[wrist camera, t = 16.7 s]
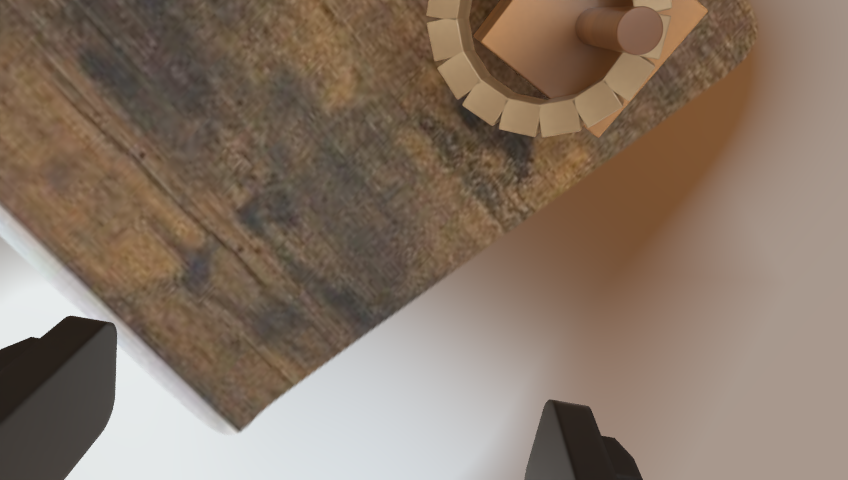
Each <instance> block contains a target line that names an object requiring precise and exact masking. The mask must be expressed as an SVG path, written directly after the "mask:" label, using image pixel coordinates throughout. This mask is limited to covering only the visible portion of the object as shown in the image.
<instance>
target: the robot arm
mask: <svg viewBox="0 0 848 480" xmlns="http://www.w3.org/2000/svg"><path fill="white" fill-rule="evenodd" d="M116 350H117V331H116V327H115V325H114V324H113V323H111V322H105V321H99V320H93V319H88V318H81V317H76V316H68V317H66V318H64V319H63V320H62V321H61V322H59V323H58V324H57V325H56V326H55V327H53V328H52V329H51V330H50V331H48V333H46V334H45V335H44V336H42V337H41V338H34V337H30V338H28V339H25V340H23V341H20V342H18V343H15V344H13V345H10V346H8V347H6V348H3V349H1V350H0V480H64V479H65V478H66V477H67V475H68V474H69V473H70V472H71V470H72V469H73V468H74V467H75V465H76V464H77V463H78V462H79V460H80V459H81V458H82V457H83V455H84V454H85V453H86V451H87V450H88V449H89V448H90V447H91V445H92V444H93V443H94V442H95V440H96V439H97V438H98V437H99V435H100V434H101V433H102V431H103V430H104V428H105V427H106V425H107V423H108V421H109V418H110V416H111V413H112V410H113V405H114V400H115V381H116ZM525 480H643V479H642V477H641V474H640V472H639V470H638V467H637V465H636V463H635V461H634V459H633V457H632V456H631V455H630V454H629V453H628V452H627V451H626V450H625V449H624V448H623V447H622V446H621V444H620V443H619V442H618V441H617V440H616V439H615V438H611V437H606V436H601V434H600V432H599V429H598V427H597V424H596V421H595V418H594V416H593V413H592V411H591V409H590V407H589V406H585V405H579V404H572V403H567V402H562V401H556V400H548V401H547V402H546V404H545V406H544V409H543V412H542V416H541V419H540V423H539V426H538V430H537V433H536V437H535V440H534V444H533V447H532V451H531V454H530V458H529V461H528V465H527V469H526V473H525Z"/></svg>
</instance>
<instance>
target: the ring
mask: <svg viewBox="0 0 848 480" xmlns="http://www.w3.org/2000/svg"><path fill="white" fill-rule="evenodd" d="M632 1H633V6H646V7H649V8H652V9H654V10H655V11H656V12H660V11H664V10H669V9H671V8H672V0H632ZM471 4H472V0H428V7H427V13H426V16H430V17H435V18H440V19H439V20H435V21H431V22H428V23H427V28H428V33H429V38H430V43H431V48H432V53H433V58H434V61H441V60H446V59H448V60H447V61H446V62H444V63H443V64H441V65H440V66H439V67H438V71H439V72H440V74H441V75H442V77H443V78H444V80H445V82H446V83H447V85H448V86H449V88H450V89H451V91H452V92H453V94H454V96H455V97H456V99H461V98H463V97H465V96H467V98H466V99H465V101H464V102H463V104H462V105H463V106H464V107H465V108H467V109H468V110H470V111H471V112H473V113H474V114H475V115H477V116H478V117H480V118H481V119H482V120H484V121H485V122H487V123H488V124H490V125H491V126H493V125H495V124H496V123H498V122H499V121H500V124H499V129H500V130H505V131H509V132H514V133H518V134H522V135H527V136H531V137H536V135H537V134H538V133H539V132H540V131H541V134H542V137H549V136H555V135H561V134H567V133H572V132H578V131H581V129H582V128H583V126H584V124H585V125H586V127H587V128H589V127H591V126H593V125H594V124H596V123H598V122H599V121H601V120H602V119H604V118H606V117H607V116H609V115H611V114H612V113H614V112H616V111H617V110H619V109H621V108H622V107H623V104H624V99H626V100H627V101H630V100H631V98H632V97H633V96H634V95H635V93H636V92H637V91H638V89H639V88H640V87H641V85H642V84H643V83H644V81H645V80H646V79H647V78H648V76H649V75H650V74H651V72H652V71H653V70H654V68H655V64H654V63H653V62H652V61H650V60H649V59H647V58H652V59H657V60H658V59H659V58H660V55H661V52H662V48H663V45H664V41H665V38H666V34H667V31H668V27H669V24H670V20H671V16H669V15H663V14H659V15H660V17H661V19H662V22H663V34H662V38H661V40H660V42H659V43H658V45H657V46H656V47H655V48H654V49H653V50H652V51H650V52H648V53H646V54H643V55H631V54H627V53H621V55H620V56H619V57H618V59H617V60H616V62H615V63H614V64H613V66H612V67H611V68H610V70H609V71H608V72H607V74H606V75H605V76H604V77H602V78H601V79H599V80H598V81H596V82H594V83H593V84H591V85H590V86H588V87H587V88H585V89H584V90H582V91H580V92H579V93H577V94H572V95H567V96H562V97H557V98H552V99H541V98H536V97H531V96H527V95H522V94H517V93H515V92H514V91H512V90H511V89H509V88H508V87H506V86H505V85H504V84H502V83H501V82H499V81H498V80H496V79H495V78H494V77H492V76H491V75H490V73H489V72H488V70H487V68H486V67H485V65H484V64H483V62H482V61H481V59H480V57H479V56H478V54H477V53H476V51H475V49H474V43H473V38H472V33H471V27H470V22H469V15H470V10H471ZM646 57H647V58H646ZM622 97H623V98H624V99H623V98H622Z"/></svg>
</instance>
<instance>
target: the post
mask: <svg viewBox="0 0 848 480" xmlns="http://www.w3.org/2000/svg"><path fill="white" fill-rule="evenodd" d="M707 12H708V10H707V9H706V8H705V7H704V6H703V5H702V4H701V3H699V2H698V1H697V0H672V8H671V9H669V10H664V11H660V12H656V11H655V10H654V9H652V8H649V7H646V6H633V1H632V0H500V1H499V2H498V4H497V5H496V6H495V7H494V9H493V10H492V11H491V13H490V14H489V15H488V17H487V18H486V19H485V21H484V22H483V23H482V25H481V26H480V27H479V29H478V30H477V31H476V33H475V34H474V35H473V37H474V38H475V39H476V40H478V41H479V42H480V43H481V44H483V45H484V46H485V47H486V48H488V49H489V50H490V51H491V52H492V53H494V54H495V55H496V56H497V57H499V58H500V59H501V60H502V61H503V62H505V63H506V64H507V65H508V66H510V67H511V68H512V69H513V70H514V71H516V72H517V73H518V74H519V75H521V76H522V77H523V78H524V79H525V80H527V81H528V82H529V83H530V84H532V85H533V86H534V87H535V88H537V89H538V90H539V91H540V92H541V93H543V94H544V95H545V96H546V97H548V98H549V99H552V98H557V97H562V96H567V95H572V94H577V93H579V92H580V91H582V90H584V89H585V88H587V87H588V86H590V85H591V84H593V83H594V82H596V81H598V80H599V79H601V78H602V77H604V76H605V75H606V74H607V72H608V71H609V70H610V68H611V67H612V66H613V64H614V63H615V62H616V60H617V59H618V57H619V56H620V55H621V53H627V54H631V55H643V54H646V53H648V52H650V51H652V50H653V49H654V48H655V47H656V46H657V45H658V43H659V42H660V40H661V38H662V34H663V22H662V19H661V17H660V15H659V14H663V15H669V16H671V20H670V24H669V27H668V31H667V34H666V38H665V41H664V45H663V48H662V52H661V55H660V58H659V59H658V60H657V59H652V58H647V57H646V58H647V59H649V60H650V61H652V62H653V63H654V64H655V68H654V70H653V71H652V72H651V74H650V75H649V76H648V78H647V79H646V80H645V81H644V83H643V84H642V85H641V87H640V88H639V89H638V91H637V92H636V93H635V95H636V94H637V93H638V92H639V91H640V90H641V88H642V87H643V86H644V85H645V84H646V83H647V81H648V80H649V79H650V78H651V77H652V76H653V75H654V73H655V72H656V71H657V70H658V69H659V68H660V66H661V65H662V64H663V63H664V62H665V61H666V59H667V58H668V57H669V56H670V55H671V54H672V53H673V51H674V50H675V49H676V48H677V47H678V46H679V44H680V43H681V42H682V41H683V40H684V39H685V37H686V36H687V35H688V34H689V33H690V32H691V31H692V29H693V28H694V27H695V26H696V25H697V24H698V22H699V21H700V20H701V19H702V18H703V17H704V15H705V14H706V13H707ZM635 95H634V96H635ZM634 96H633V97H632V98H631V100H632V99H633V98H634ZM622 98H623V97H622ZM623 99H624V98H623ZM631 100H630V101H631ZM630 101H627V100H626V99H624V104H623V107H622V108H621V109H619V110H617V111H616V112H614V113H612V114H611V115H609V116H607V117H606V118H604V119H602V120H601V121H599V122H598V123H596V124H594V125H593V126H591V127H589V128H587V127H586V125H585V124H584V126H583V127H585V128H586V129H587V130H588V131H590V132H591V133H592V134H593V135H595V136H596V137H597V138H599V137H600V136H601V135H602V134H603V132H604V131H605V130H606V129H607V128H608V127H609V125H610V124H611V123H612V122H613V121H614V120H615V118H616V117H617V116H618V115H619V114H620V113H621V112H622V110H623V109H624V108H625V107H626V106H627V105H628V103H629V102H630Z"/></svg>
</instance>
